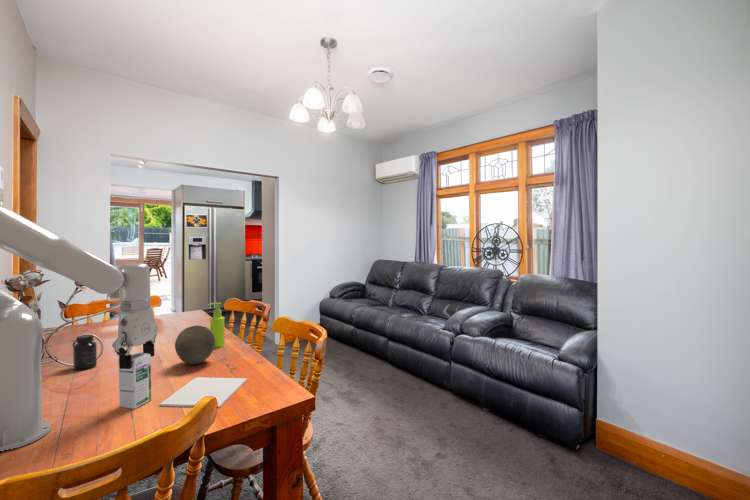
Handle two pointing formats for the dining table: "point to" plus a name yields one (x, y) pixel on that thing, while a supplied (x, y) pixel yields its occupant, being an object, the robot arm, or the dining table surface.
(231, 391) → the mat
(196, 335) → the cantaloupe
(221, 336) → the soap dispenser
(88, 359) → the supplement bottle
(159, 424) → the dining table surface
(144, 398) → the syrup box
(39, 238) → the robot arm
